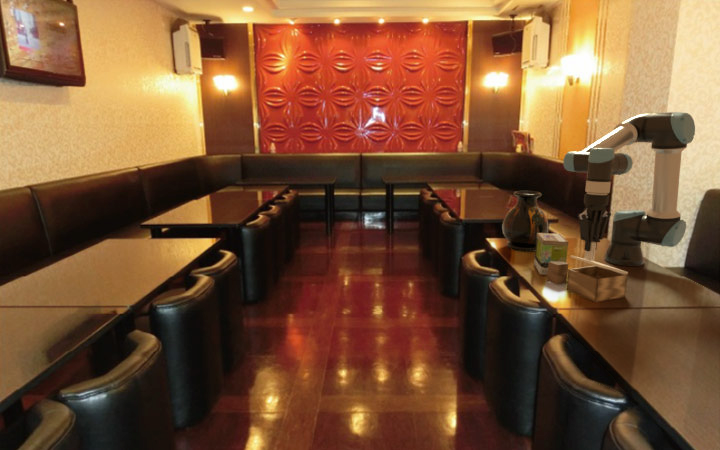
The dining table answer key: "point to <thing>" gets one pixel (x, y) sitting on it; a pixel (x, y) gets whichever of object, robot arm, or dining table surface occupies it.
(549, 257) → the tea box
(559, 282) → the walnut block
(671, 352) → the dining table surface
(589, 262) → the lid
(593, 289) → the crate
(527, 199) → the dark glossy vase
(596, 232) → the robot arm
